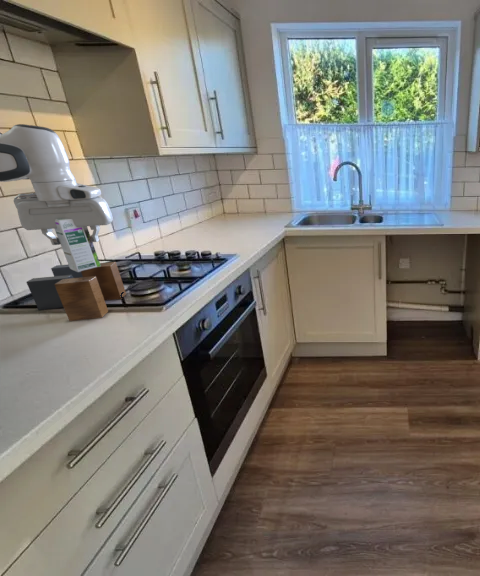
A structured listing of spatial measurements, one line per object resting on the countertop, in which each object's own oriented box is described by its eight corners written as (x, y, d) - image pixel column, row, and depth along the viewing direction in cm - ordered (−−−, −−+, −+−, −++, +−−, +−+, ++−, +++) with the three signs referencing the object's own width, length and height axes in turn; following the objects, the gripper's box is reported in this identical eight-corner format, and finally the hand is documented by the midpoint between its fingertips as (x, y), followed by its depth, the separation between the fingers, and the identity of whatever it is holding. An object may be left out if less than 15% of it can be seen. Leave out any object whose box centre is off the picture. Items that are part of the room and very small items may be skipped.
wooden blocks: (69, 321, 99) (54, 284, 95) (98, 296, 115) (86, 264, 110) (102, 317, 101) (88, 281, 97) (126, 294, 116) (115, 261, 112)
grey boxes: (38, 310, 106) (26, 281, 103) (66, 290, 120) (56, 265, 116) (77, 306, 109) (66, 278, 105) (100, 287, 122) (91, 262, 119)
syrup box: (77, 272, 99) (58, 220, 94) (69, 269, 102) (50, 218, 97) (101, 266, 104) (84, 216, 98) (92, 263, 107) (75, 214, 101)
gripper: (2, 196, 90) (25, 249, 95) (96, 191, 94) (112, 242, 100) (19, 192, 95) (39, 243, 101) (106, 188, 100) (122, 237, 105)
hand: (76, 243), depth 100 cm, fingers closed on syrup box, 8 cm apart
